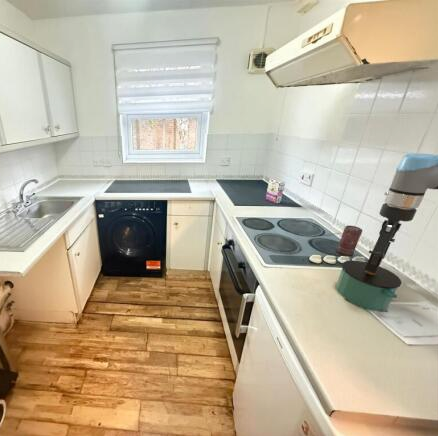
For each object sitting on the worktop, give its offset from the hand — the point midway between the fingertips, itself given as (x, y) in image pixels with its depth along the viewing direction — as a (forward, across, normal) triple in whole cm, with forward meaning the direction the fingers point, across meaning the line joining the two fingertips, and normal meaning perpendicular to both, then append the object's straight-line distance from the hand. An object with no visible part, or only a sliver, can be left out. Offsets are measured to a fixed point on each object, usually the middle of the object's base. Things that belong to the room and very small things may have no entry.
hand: (374, 264), depth 81 cm
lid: (+4, 0, 0) cm, 4 cm away
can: (+14, -30, -12) cm, 36 cm away
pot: (+14, 0, 0) cm, 14 cm away
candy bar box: (+14, -83, -70) cm, 109 cm away
